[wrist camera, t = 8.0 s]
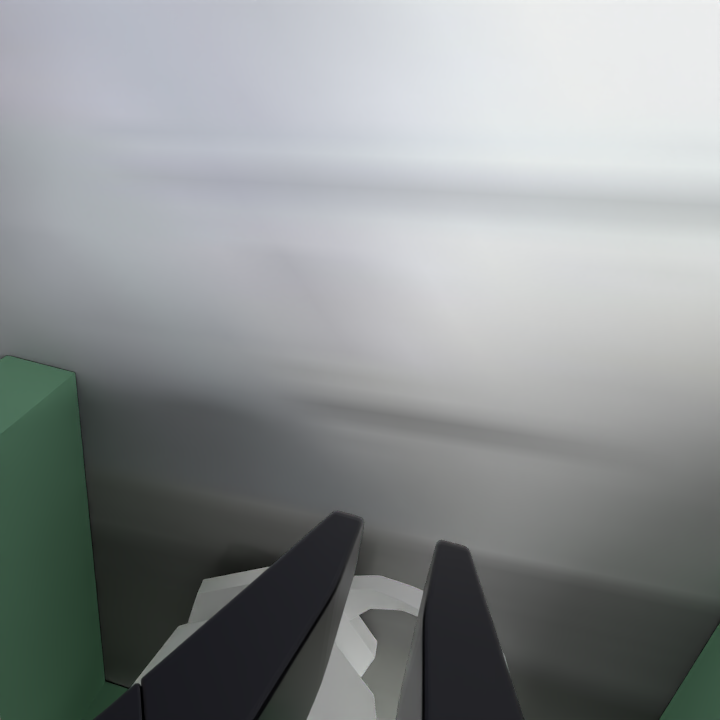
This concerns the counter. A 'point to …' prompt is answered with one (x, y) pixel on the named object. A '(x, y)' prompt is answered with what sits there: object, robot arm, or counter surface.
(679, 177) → the counter surface
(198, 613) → the cup
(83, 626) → the pocket
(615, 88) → the counter surface
